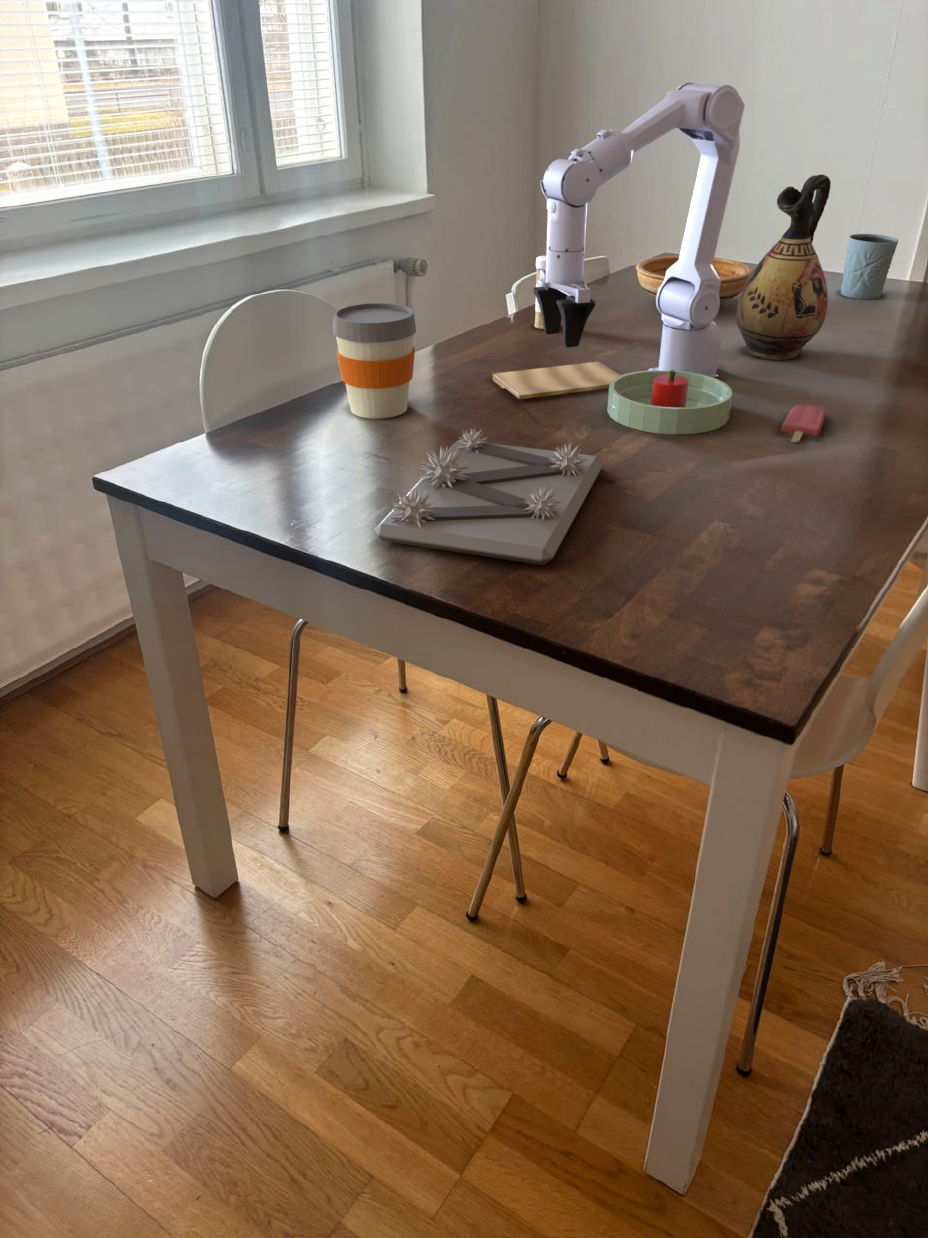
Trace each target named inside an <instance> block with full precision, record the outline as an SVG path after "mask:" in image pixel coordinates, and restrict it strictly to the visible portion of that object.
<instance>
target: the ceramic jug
mask: <svg viewBox="0 0 928 1238" xmlns="http://www.w3.org/2000/svg"><path fill="white" fill-rule="evenodd" d="M831 184H832V183H831V179H830V178H829V176H827V175H825V174H822V173H821V174H817V175H815V174H814V175H811V176H809V177H808V178H807V180H805V182H804V183H803V185H802V188H801V190H799V189H797V188H795V187H794V186H791V185H790V186H786V188H784V189H783V190H782V191H781V192H780V193H779V195H778V196H777V199H776V205H777V208H778V210H780V211H781V212H783V213H784V214H785V215H787V216H789V217H790V225H789V227H788V228H787V230H786V231H785V232H784V233H783V234H782V236H781V238H780V239H779V240H778V241H777V242H776V243H775V244H774V245H773V246H772V247H771V248H770V250H769V251H767V252H766V254H765V255H764V256H763V257H762V259H761V260H760V261H759V262H758V263H757V265H756V266H755V268H754V269H752V270H753V271H752V273H751V275H750V276H749V278H748V280H747V281H746V283H745V285H744V288H743V290H742V292H741V293H740V294H739V298H738V300H737V301H738V302H737V305H736V321H737V328H738V330H739V332H740V334H741V336H742V338H743V341H744V343H745V346H746V348H745V350H744V351H745V352H746V353H747V354H748V355H749V356H751V357H754V358H762V359H765V360H771V361H786V360H789V359H794V358H795V357H797V356H798V355H799V352H800V351H801V350H802V349H803V348H804V347H805V346H806V345H807V344H808V343H809V342H810V341H811V340H812V339H813V338H814V337H815V336H816V335H817V334H818V333H819V332H820V330H821V329H822V326H823V324H824V322H825V321H826V317H827V312H828V303H829V293H828V284H827V280H826V276H825V273H824V269H823V267H822V264H821V262H820V259H819V256H818V254H817V251H816V249H815V247H814V245H813V241H814V236H815V232H816V231H817V228H818V225H819V222H820V220H821V218H822V216H823V213H824V210H825V207H826V205H827V204H828V203H827V202H828V199H829V198H830V197H829V196H830V191H831Z"/></svg>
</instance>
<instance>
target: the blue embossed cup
mask: <svg viewBox="0 0 928 1238" xmlns="http://www.w3.org/2000/svg"><path fill="white" fill-rule="evenodd" d="M898 245H899V239H898V238H896V237H893V236H889V235H885V234H876V233H855V234H850V235H848V240H847V248H846V256H845V260H844V261H845V262H844V267H843V272H842V273H843V274H842V283H841V287H840V294H841V295H842V296H844V297H847V298H850V299H858V300H874V299H879V298H880V297H881V296H882V294H883V290H884V288H885V283H886V279H887V278H888V274H889V270H890V268H891V265H892V263H893V262H892V261H893V257H894V256H895V253H896V250H897V246H898Z"/></svg>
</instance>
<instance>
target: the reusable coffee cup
mask: <svg viewBox="0 0 928 1238" xmlns="http://www.w3.org/2000/svg"><path fill="white" fill-rule="evenodd" d="M332 329H333V331H332V333H333V335H334V336H335V338H336V342H337V349H336V357H337V362H338V366H339V371H340V376H341V381H342V382H343V383H345V388H346V392H347V398H348V403H349V408H350V412H351V414H353V415H355V416H357V417H360V418H365V419H374V420H375V419H376V420H377V419H378V420H379V419H389V418H394V417H397V416H400V415H402V414H404V413H405V412H407V410H408V401H409V392H410V391H409V390H410V382H411V381H412V379H413V376H414V367H415V365H414V363H415V354H416V348H415V346H413V345H414V336H415V334H416V332H417V325H416V319H415V313H414V309H412V308H411V307H409V306H406V305H402V304H398V303H390V302H365V303H356V304H350V305H346V306H342V307H340V308H338V309H335V311H334V312H333V328H332Z"/></svg>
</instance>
